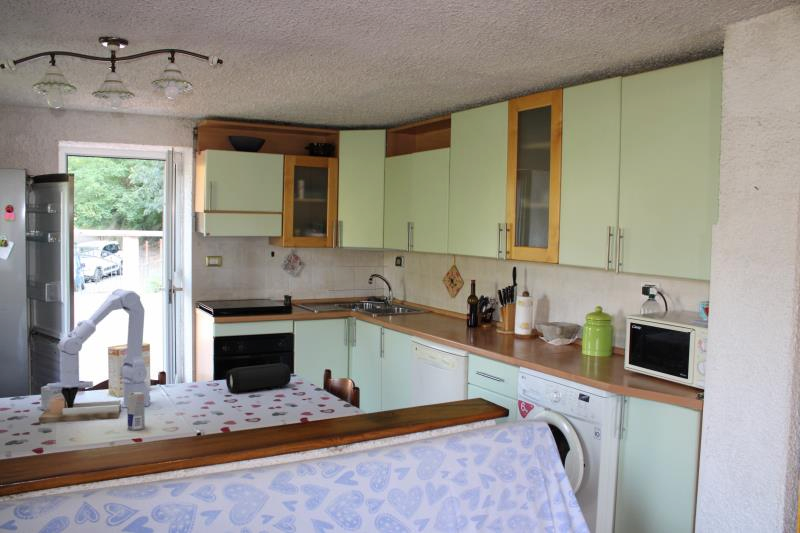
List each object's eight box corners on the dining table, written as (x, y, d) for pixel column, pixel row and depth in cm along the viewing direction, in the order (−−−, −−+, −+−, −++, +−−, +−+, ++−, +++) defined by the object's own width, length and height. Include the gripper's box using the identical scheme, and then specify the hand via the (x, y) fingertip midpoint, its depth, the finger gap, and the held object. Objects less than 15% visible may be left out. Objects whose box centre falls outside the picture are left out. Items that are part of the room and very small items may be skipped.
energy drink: (130, 425, 234) (130, 391, 233) (146, 425, 234) (146, 390, 234) (125, 430, 228) (125, 394, 228) (142, 430, 229) (141, 394, 228)
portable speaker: (282, 383, 300) (282, 360, 300) (291, 388, 292) (291, 364, 291) (225, 390, 286) (225, 366, 286) (233, 395, 278) (233, 371, 277)
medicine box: (51, 410, 251) (51, 387, 251) (41, 410, 252) (40, 386, 252) (66, 405, 259) (65, 382, 259) (55, 404, 260) (55, 382, 259)
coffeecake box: (141, 387, 288) (140, 341, 287) (151, 390, 284) (150, 343, 283) (107, 394, 276) (107, 346, 275) (117, 397, 272) (117, 348, 271)
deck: (121, 409, 254) (120, 404, 254) (117, 418, 243) (117, 412, 243) (46, 414, 247) (45, 408, 247) (39, 423, 235) (39, 417, 235)
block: (66, 410, 245) (66, 397, 245) (64, 413, 241) (64, 400, 241) (52, 410, 244) (52, 398, 244) (50, 414, 240) (50, 401, 239)
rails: (120, 405, 252) (120, 400, 252) (118, 411, 244) (118, 405, 244) (66, 408, 247) (66, 403, 247) (62, 414, 239) (62, 409, 239)
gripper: (45, 374, 237) (45, 413, 238) (90, 372, 241) (91, 410, 242) (49, 369, 243) (49, 407, 244) (93, 368, 248) (94, 405, 249)
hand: (70, 408), depth 243 cm, fingers closed
